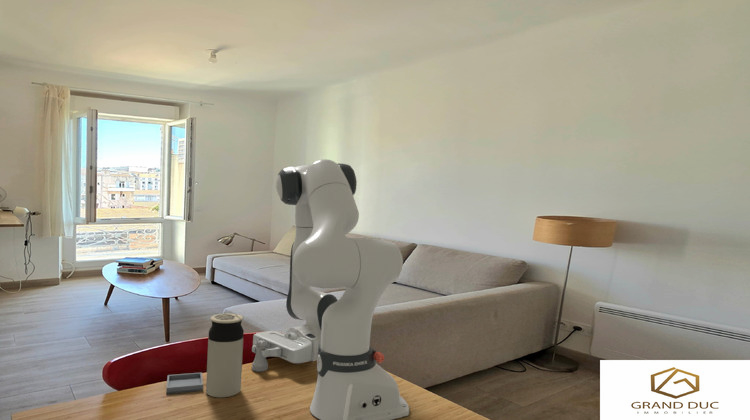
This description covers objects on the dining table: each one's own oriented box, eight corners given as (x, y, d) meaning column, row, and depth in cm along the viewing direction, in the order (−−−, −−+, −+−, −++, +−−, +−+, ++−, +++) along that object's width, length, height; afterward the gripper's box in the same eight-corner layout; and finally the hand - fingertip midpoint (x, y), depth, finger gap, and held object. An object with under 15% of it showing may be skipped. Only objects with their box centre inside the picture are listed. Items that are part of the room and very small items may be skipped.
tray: (201, 378, 122) (201, 372, 122) (202, 390, 115) (203, 384, 115) (167, 381, 119) (167, 375, 119) (166, 394, 112) (166, 387, 112)
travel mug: (206, 400, 110) (210, 322, 109) (205, 386, 117) (208, 313, 117) (242, 396, 113) (246, 320, 112) (238, 383, 120) (242, 312, 120)
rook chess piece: (270, 367, 132) (272, 338, 132) (263, 373, 128) (265, 343, 128) (256, 365, 133) (257, 336, 133) (248, 371, 129) (249, 341, 129)
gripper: (277, 323, 147) (237, 331, 137) (321, 339, 133) (281, 349, 123) (276, 343, 147) (236, 353, 137) (320, 362, 133) (279, 373, 123)
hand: (257, 351), depth 130 cm, fingers closed on rook chess piece, 3 cm apart
